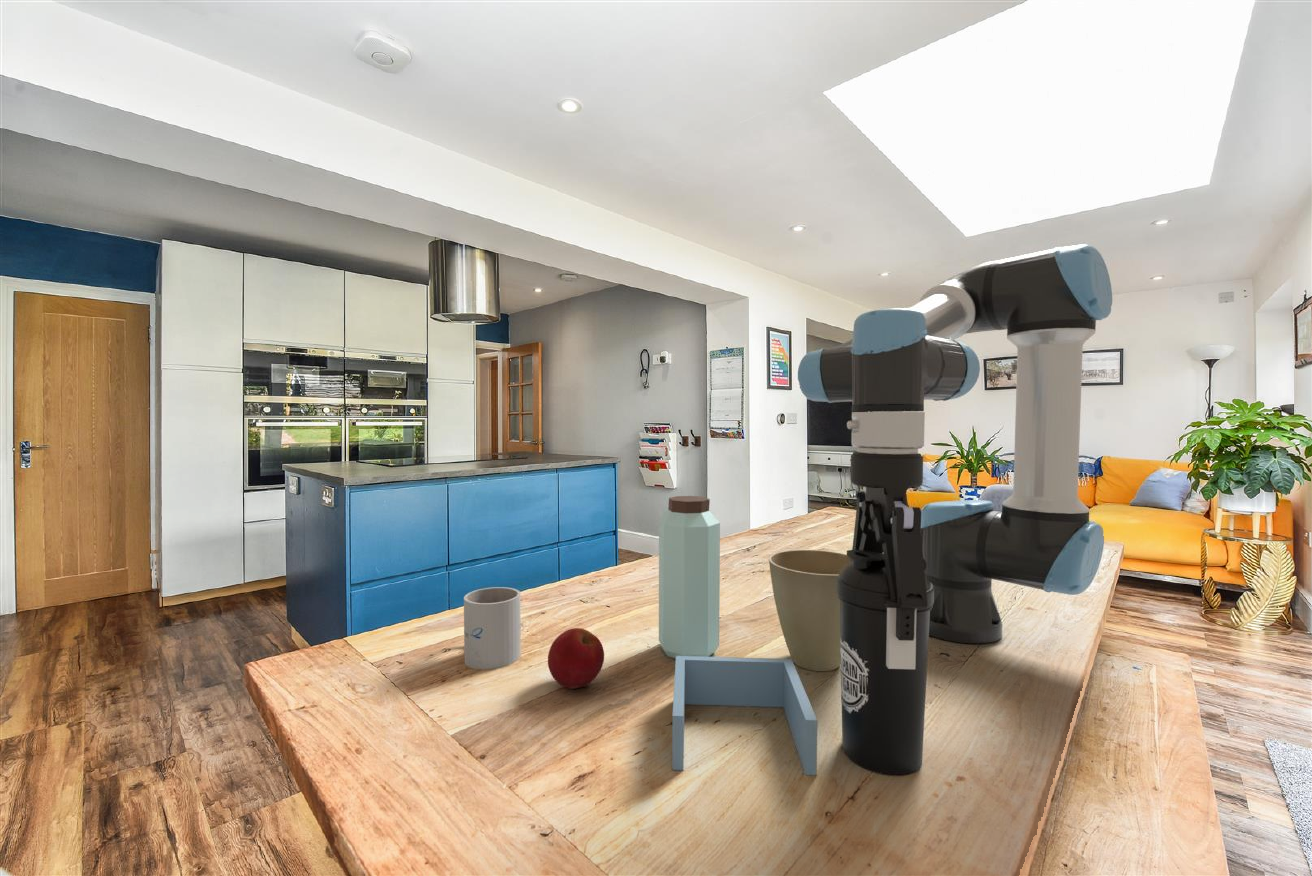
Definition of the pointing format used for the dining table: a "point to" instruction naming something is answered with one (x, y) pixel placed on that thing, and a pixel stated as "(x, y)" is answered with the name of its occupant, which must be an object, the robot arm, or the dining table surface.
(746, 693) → the u rest
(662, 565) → the water bottle
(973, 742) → the dining table surface
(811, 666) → the plant pot
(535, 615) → the dining table surface
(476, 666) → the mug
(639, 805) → the dining table surface
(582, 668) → the apple
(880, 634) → the water bottle
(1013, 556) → the robot arm
